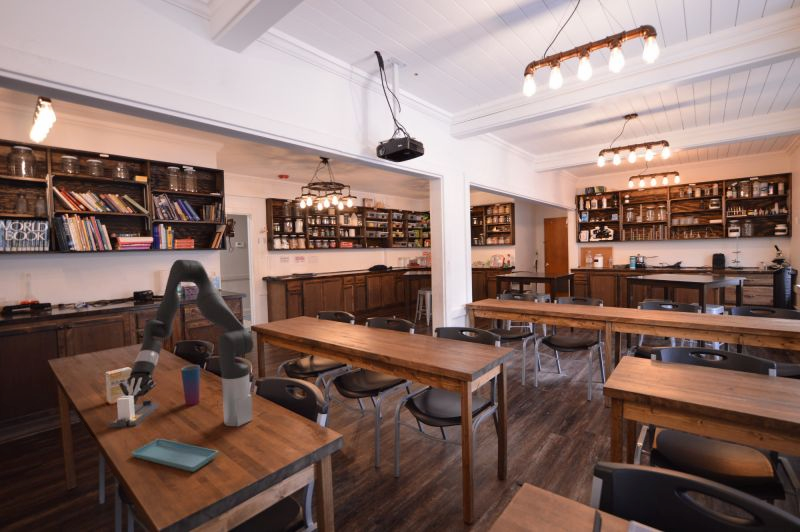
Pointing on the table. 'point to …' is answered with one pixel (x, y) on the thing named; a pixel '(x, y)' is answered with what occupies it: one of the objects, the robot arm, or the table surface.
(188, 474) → the table surface
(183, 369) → the cup
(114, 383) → the supplement box
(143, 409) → the console
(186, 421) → the table surface
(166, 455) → the rectangular tray
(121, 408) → the fader knob
